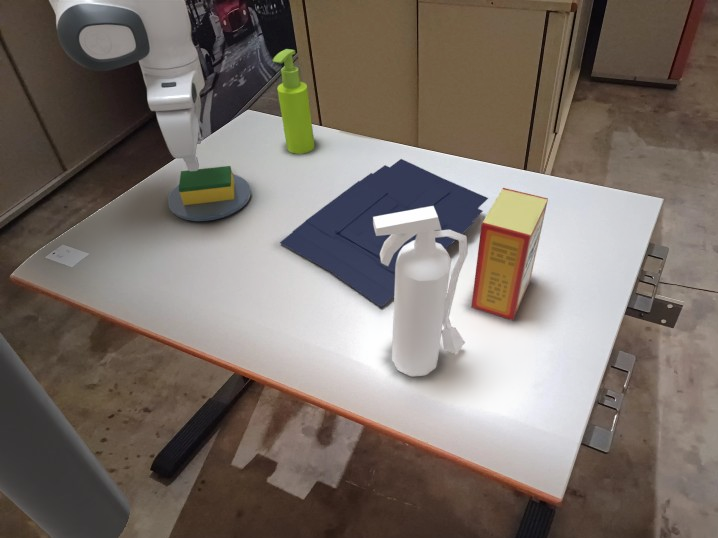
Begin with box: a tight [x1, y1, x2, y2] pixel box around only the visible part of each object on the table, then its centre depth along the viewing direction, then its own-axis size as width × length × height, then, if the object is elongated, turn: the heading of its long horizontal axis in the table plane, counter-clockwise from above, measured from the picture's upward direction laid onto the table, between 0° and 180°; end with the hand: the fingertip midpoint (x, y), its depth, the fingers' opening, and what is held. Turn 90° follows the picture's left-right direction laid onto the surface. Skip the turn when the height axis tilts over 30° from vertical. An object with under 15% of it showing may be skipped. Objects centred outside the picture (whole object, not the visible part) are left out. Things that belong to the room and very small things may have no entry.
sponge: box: [178, 165, 234, 205], centre depth 102 cm, size 9×6×4 cm, turn 102°
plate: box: [167, 173, 252, 222], centre depth 104 cm, size 15×15×1 cm
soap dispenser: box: [271, 48, 316, 155], centre depth 111 cm, size 6×7×20 cm
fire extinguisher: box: [373, 206, 468, 377], centre depth 68 cm, size 7×12×25 cm, turn 99°
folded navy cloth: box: [279, 158, 489, 308], centre depth 96 cm, size 24×30×4 cm
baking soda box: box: [470, 187, 549, 321], centre depth 80 cm, size 10×6×16 cm
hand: (195, 155), depth 97 cm, fingers open, 8 cm apart
